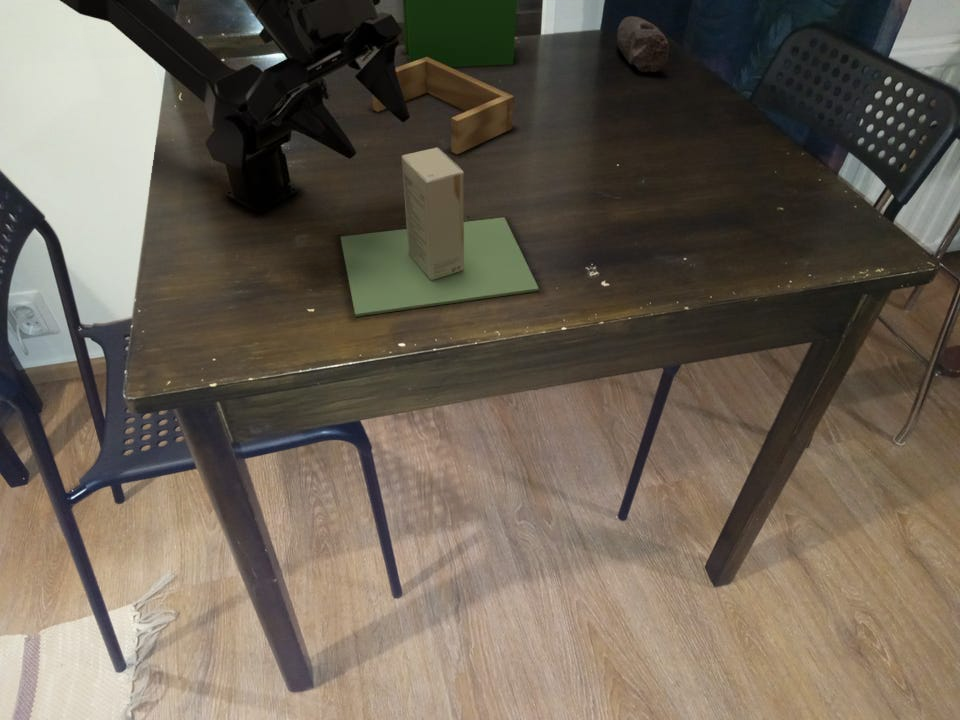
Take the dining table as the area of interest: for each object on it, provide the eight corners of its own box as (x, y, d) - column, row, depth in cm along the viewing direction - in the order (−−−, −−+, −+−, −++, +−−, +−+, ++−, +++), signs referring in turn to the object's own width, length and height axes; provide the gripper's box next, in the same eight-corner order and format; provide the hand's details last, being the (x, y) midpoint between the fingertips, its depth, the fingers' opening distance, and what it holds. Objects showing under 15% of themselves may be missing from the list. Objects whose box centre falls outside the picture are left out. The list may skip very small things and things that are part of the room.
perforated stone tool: (605, 45, 126) (612, 4, 121) (633, 44, 126) (640, 3, 122) (636, 80, 115) (644, 37, 110) (665, 78, 116) (675, 35, 111)
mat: (355, 317, 72) (355, 314, 72) (340, 239, 82) (340, 236, 82) (538, 291, 76) (538, 288, 76) (504, 219, 86) (504, 217, 85)
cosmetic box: (465, 271, 78) (467, 173, 69) (430, 282, 76) (427, 183, 67) (439, 240, 81) (438, 144, 73) (405, 250, 80) (400, 153, 71)
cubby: (457, 154, 96) (457, 120, 93) (372, 109, 105) (370, 76, 102) (511, 129, 102) (514, 96, 99) (427, 88, 111) (426, 56, 107)
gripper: (242, -28, 56) (365, 137, 60) (381, -78, 67) (476, 64, 71) (197, 50, 64) (307, 190, 68) (327, -6, 75) (415, 117, 80)
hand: (381, 137), depth 72 cm, fingers open, 9 cm apart
